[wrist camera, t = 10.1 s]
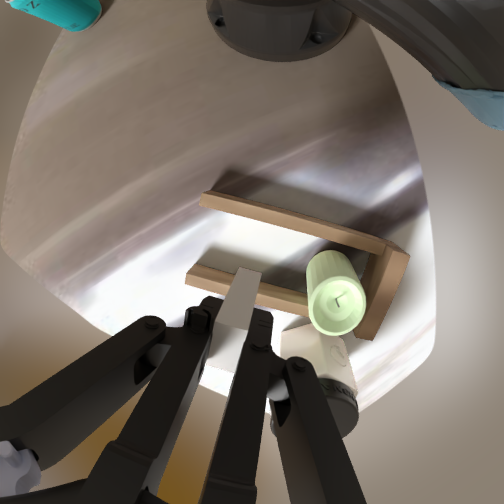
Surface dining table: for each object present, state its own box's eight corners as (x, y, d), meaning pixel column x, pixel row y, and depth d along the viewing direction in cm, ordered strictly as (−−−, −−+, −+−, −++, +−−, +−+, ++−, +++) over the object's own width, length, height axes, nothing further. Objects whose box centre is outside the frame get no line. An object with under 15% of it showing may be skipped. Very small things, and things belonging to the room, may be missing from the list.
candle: (313, 244, 28) (319, 276, 21) (358, 256, 28) (378, 290, 20) (300, 287, 30) (300, 329, 22) (343, 297, 30) (355, 341, 22)
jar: (356, 347, 32) (379, 418, 20) (311, 384, 34) (316, 456, 23) (304, 307, 31) (313, 380, 19) (259, 351, 33) (248, 426, 22)
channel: (209, 190, 28) (195, 195, 23) (391, 241, 27) (410, 256, 23) (193, 273, 31) (178, 292, 26) (361, 317, 30) (372, 340, 26)
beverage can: (83, 6, 21) (18, -28, 7) (111, -1, 21) (47, -45, 7) (68, 37, 23) (-4, 10, 9) (96, 31, 23) (22, -5, 9)
